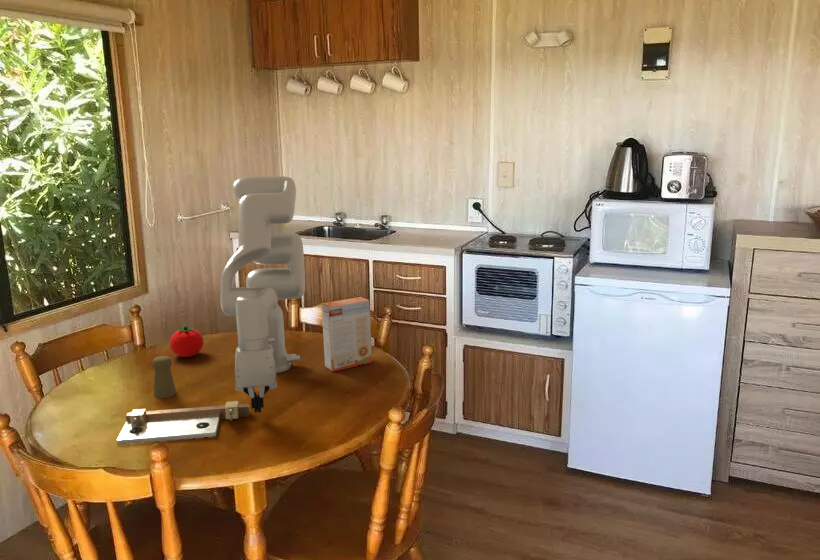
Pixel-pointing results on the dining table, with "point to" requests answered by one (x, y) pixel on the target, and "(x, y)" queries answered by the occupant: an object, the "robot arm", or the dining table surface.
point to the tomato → (186, 342)
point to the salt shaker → (163, 377)
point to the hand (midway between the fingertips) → (257, 410)
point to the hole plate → (174, 424)
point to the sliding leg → (232, 410)
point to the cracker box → (346, 333)
